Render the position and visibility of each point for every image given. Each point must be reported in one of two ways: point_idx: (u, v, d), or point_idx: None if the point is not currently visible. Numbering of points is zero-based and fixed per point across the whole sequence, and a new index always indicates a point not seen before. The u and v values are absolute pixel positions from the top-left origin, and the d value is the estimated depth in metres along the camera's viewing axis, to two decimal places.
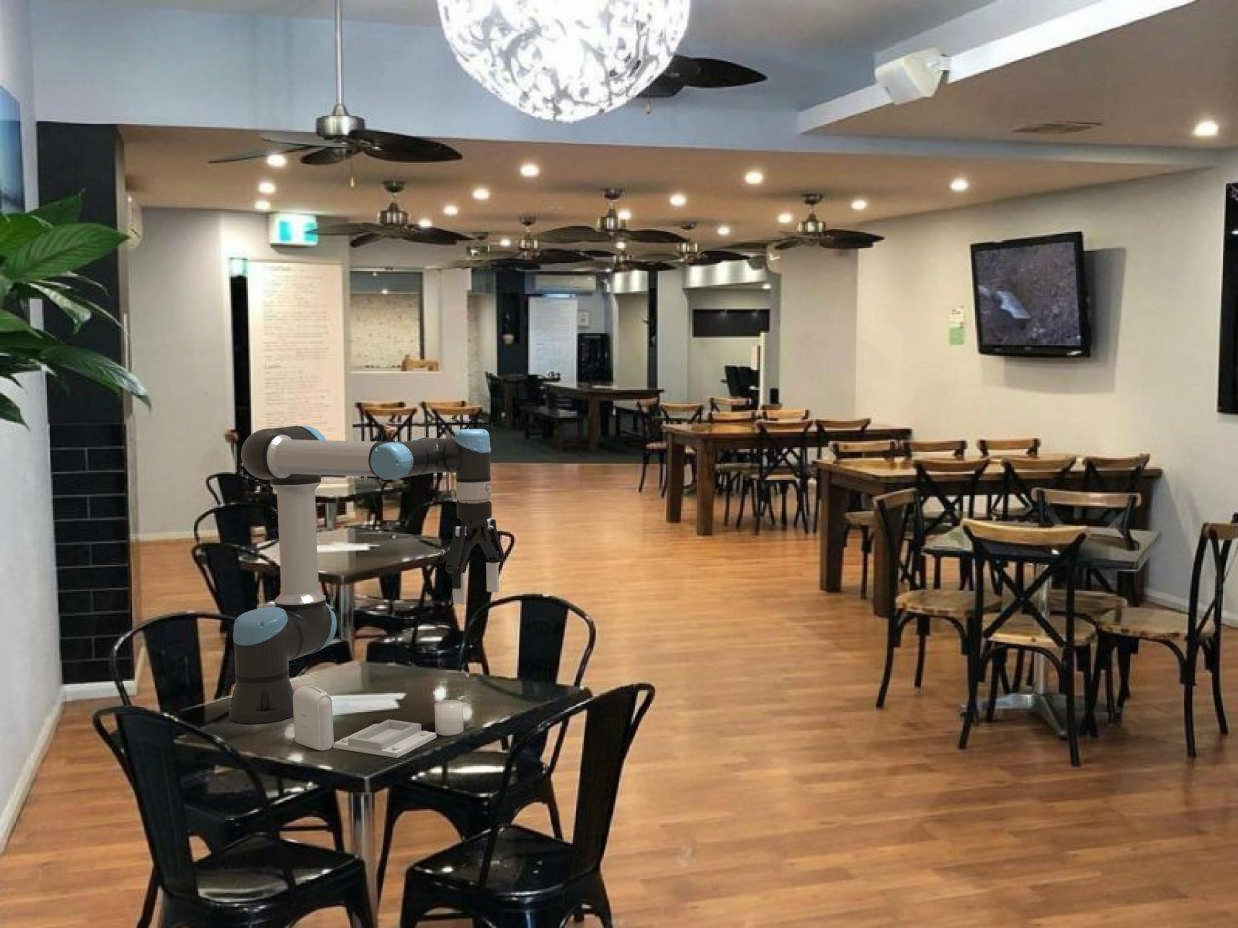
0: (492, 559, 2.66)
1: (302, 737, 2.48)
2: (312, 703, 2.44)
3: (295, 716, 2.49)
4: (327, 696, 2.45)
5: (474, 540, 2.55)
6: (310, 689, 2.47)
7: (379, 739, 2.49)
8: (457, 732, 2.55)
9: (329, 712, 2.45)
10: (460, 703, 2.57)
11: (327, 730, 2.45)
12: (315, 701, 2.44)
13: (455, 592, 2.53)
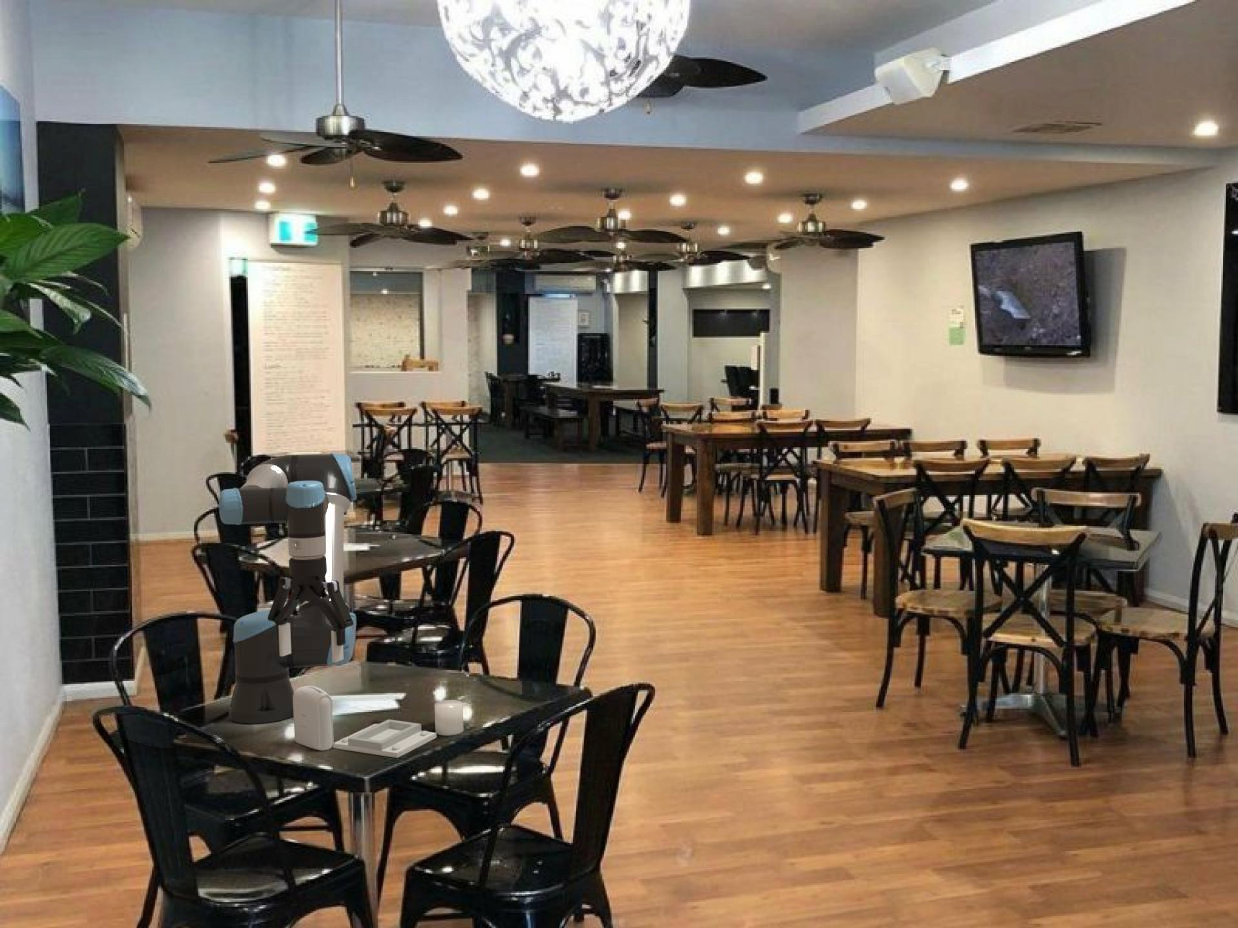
0: None
1: (302, 737, 2.48)
2: (312, 703, 2.44)
3: (295, 716, 2.49)
4: (327, 696, 2.45)
5: (292, 596, 2.46)
6: (310, 689, 2.47)
7: (379, 739, 2.49)
8: (457, 732, 2.55)
9: (329, 712, 2.45)
10: (460, 703, 2.57)
11: (327, 730, 2.45)
12: (315, 701, 2.44)
13: None
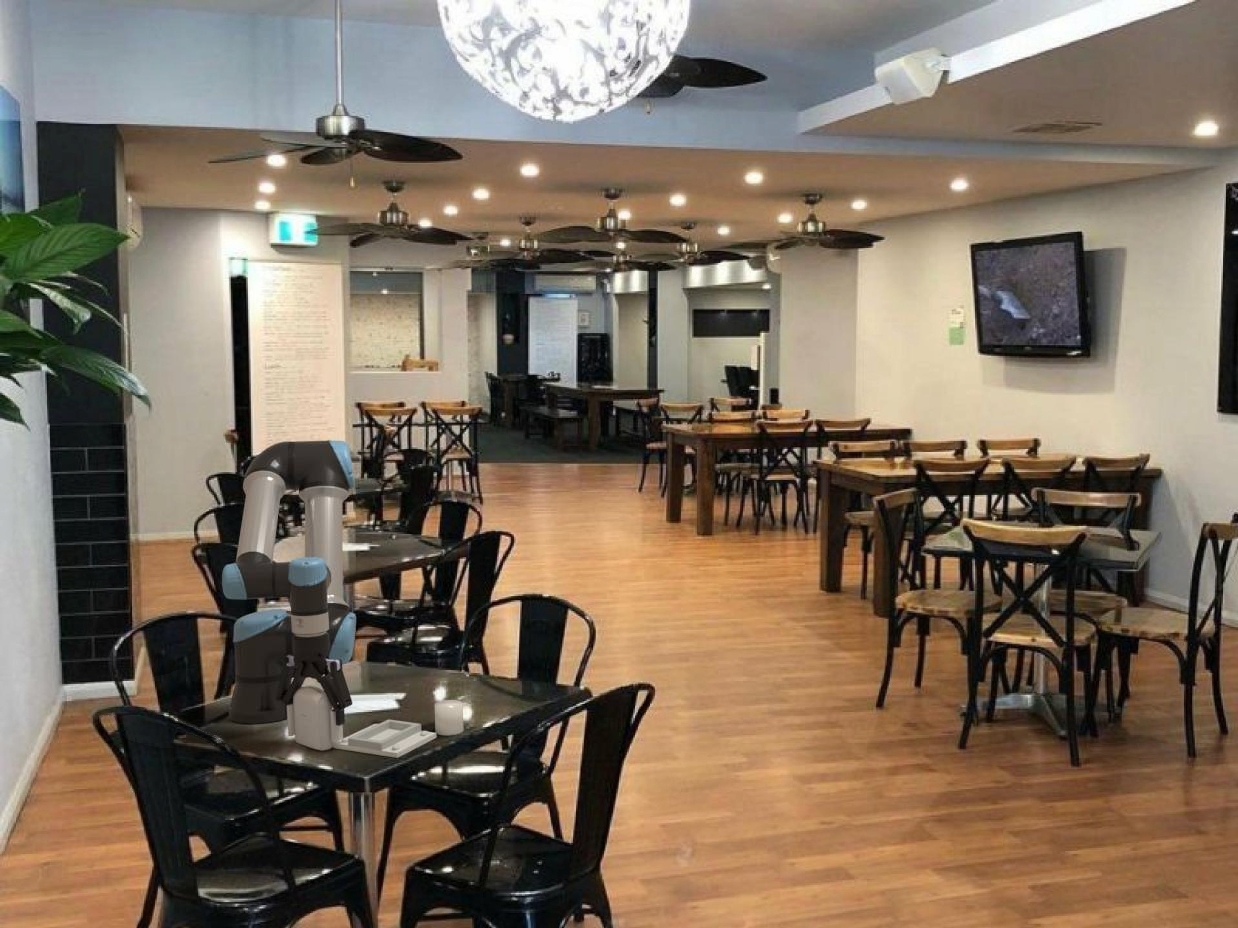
0: None
1: (302, 737, 2.48)
2: (313, 703, 2.44)
3: (295, 716, 2.49)
4: None
5: (296, 673, 2.47)
6: (310, 689, 2.46)
7: (379, 739, 2.49)
8: (457, 732, 2.55)
9: (329, 712, 2.45)
10: (460, 703, 2.57)
11: (328, 730, 2.45)
12: (316, 701, 2.44)
13: None
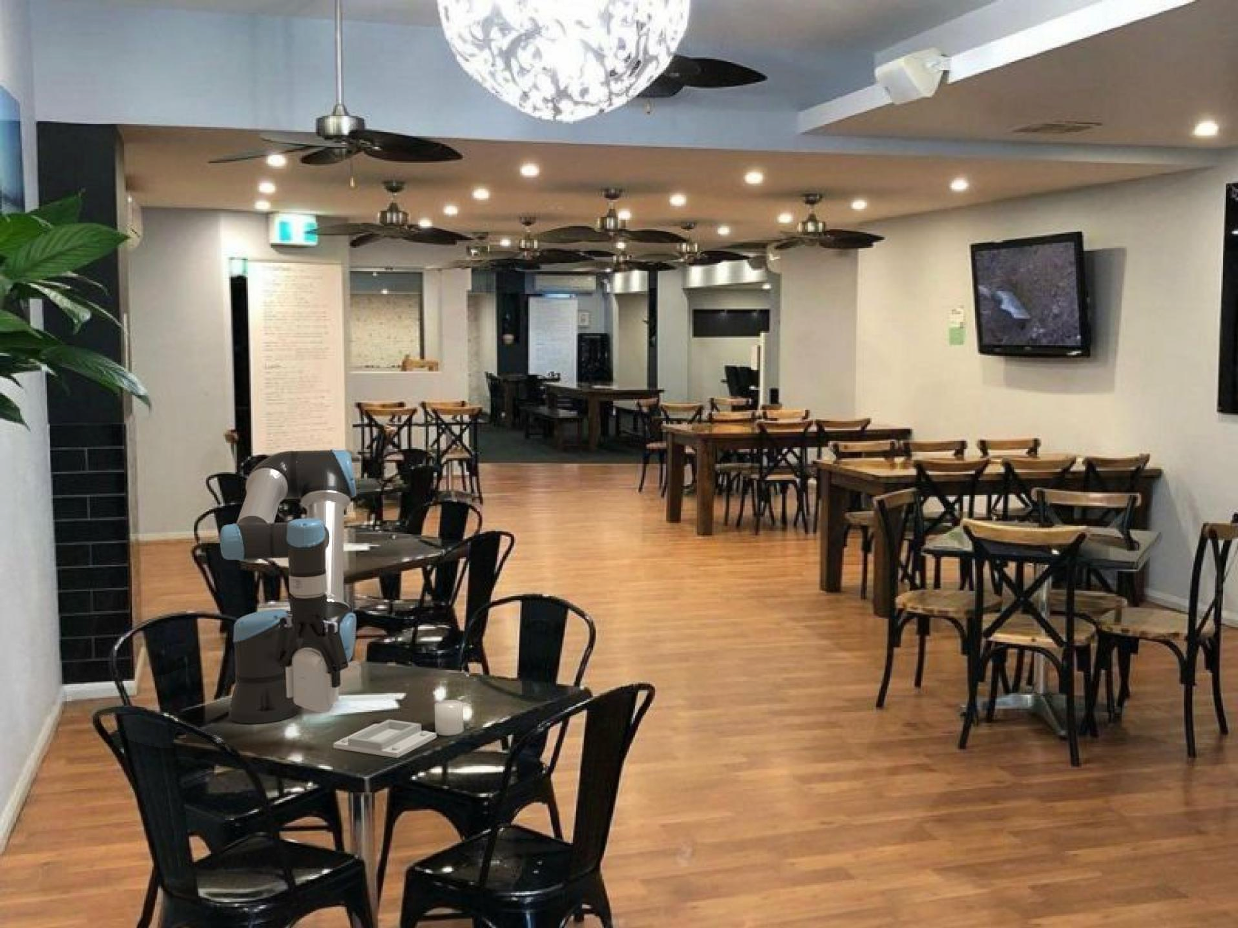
0: None
1: (301, 699, 2.48)
2: (311, 665, 2.44)
3: (294, 678, 2.49)
4: None
5: (294, 634, 2.46)
6: (309, 651, 2.46)
7: (379, 739, 2.49)
8: (457, 732, 2.55)
9: None
10: (460, 703, 2.57)
11: (326, 692, 2.45)
12: (314, 663, 2.44)
13: None
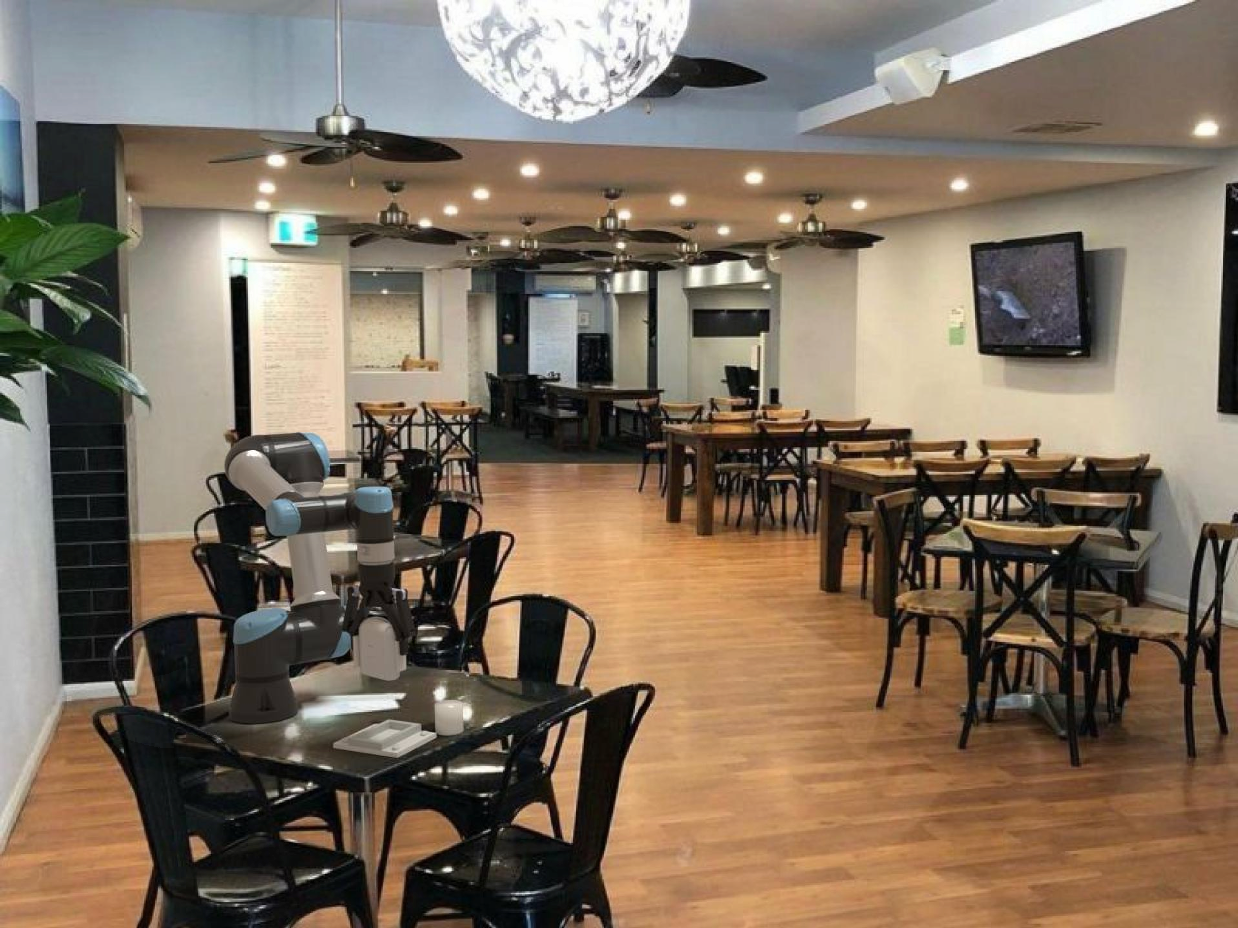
0: None
1: (368, 668, 2.47)
2: (379, 633, 2.43)
3: (361, 647, 2.48)
4: None
5: (362, 603, 2.46)
6: (377, 619, 2.46)
7: (379, 739, 2.49)
8: (457, 732, 2.55)
9: None
10: (460, 703, 2.57)
11: (394, 660, 2.44)
12: (382, 631, 2.43)
13: None
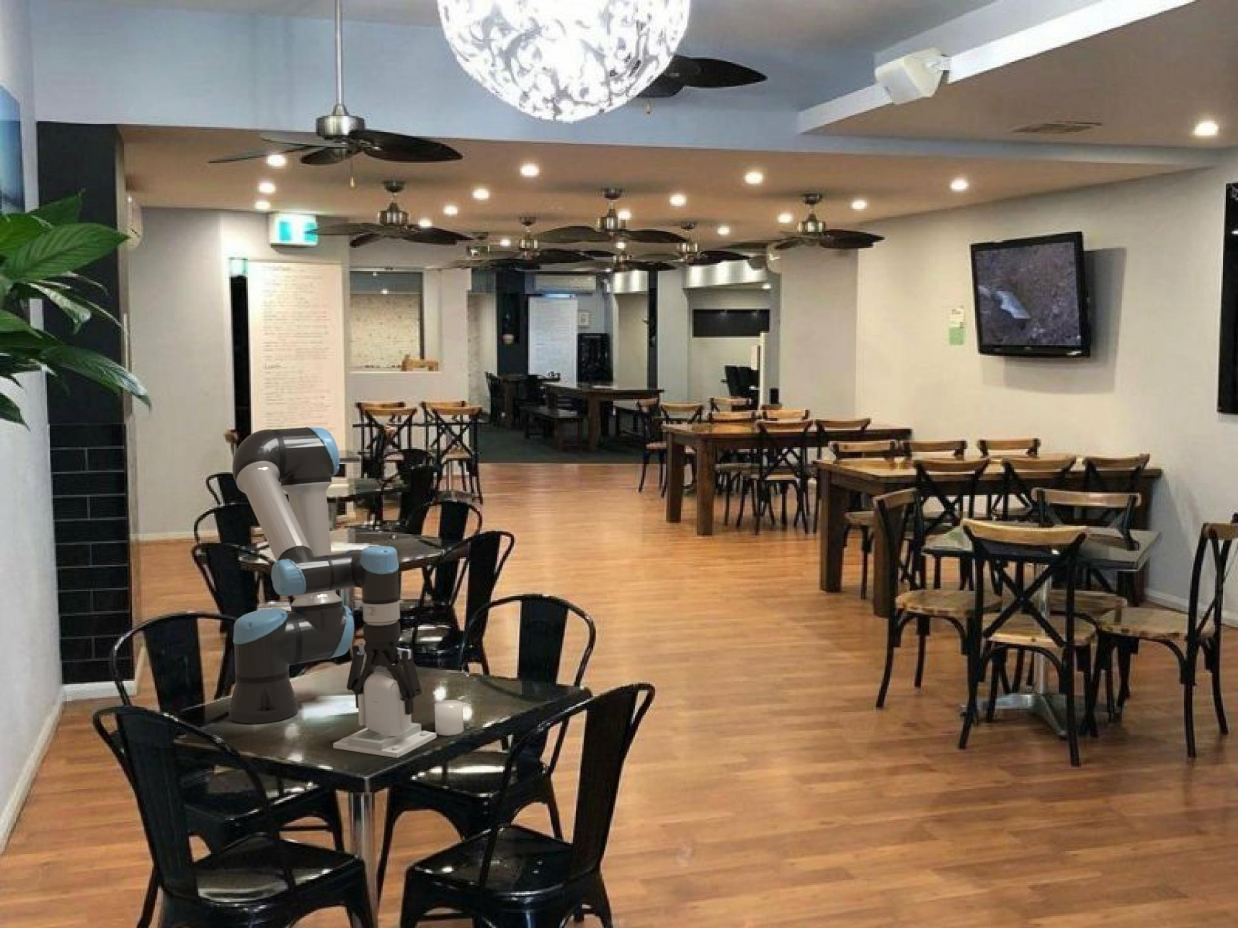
0: None
1: (373, 723, 2.48)
2: (385, 689, 2.45)
3: (366, 702, 2.50)
4: None
5: (367, 662, 2.47)
6: (381, 675, 2.47)
7: (379, 739, 2.49)
8: (457, 732, 2.55)
9: (401, 698, 2.46)
10: (460, 703, 2.57)
11: (399, 716, 2.45)
12: (388, 687, 2.44)
13: None
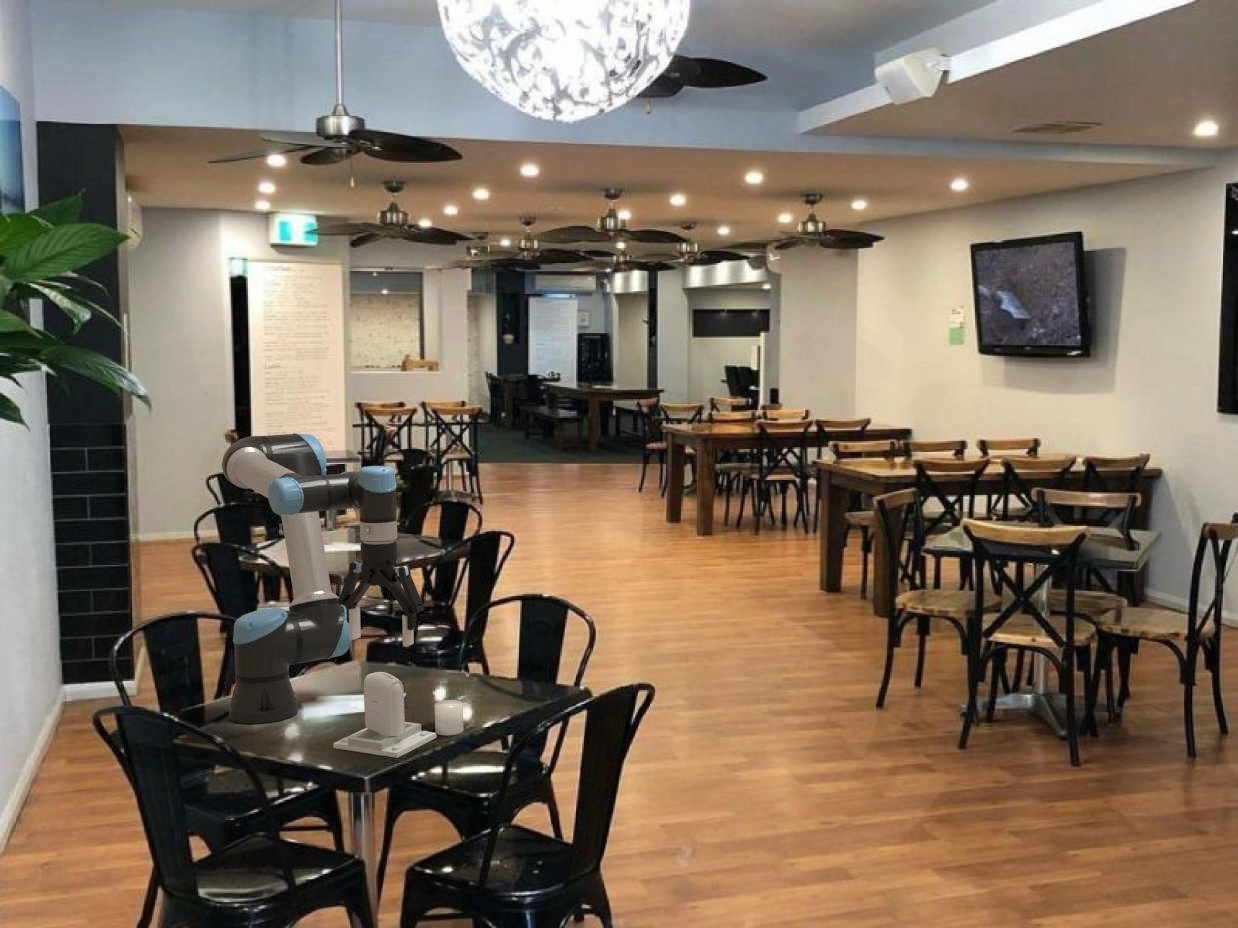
0: None
1: (373, 723, 2.48)
2: (385, 689, 2.45)
3: (366, 702, 2.50)
4: (399, 682, 2.46)
5: (363, 580, 2.47)
6: (381, 675, 2.47)
7: (379, 739, 2.49)
8: (457, 732, 2.55)
9: (401, 698, 2.46)
10: (460, 703, 2.57)
11: (399, 716, 2.45)
12: (388, 687, 2.44)
13: None
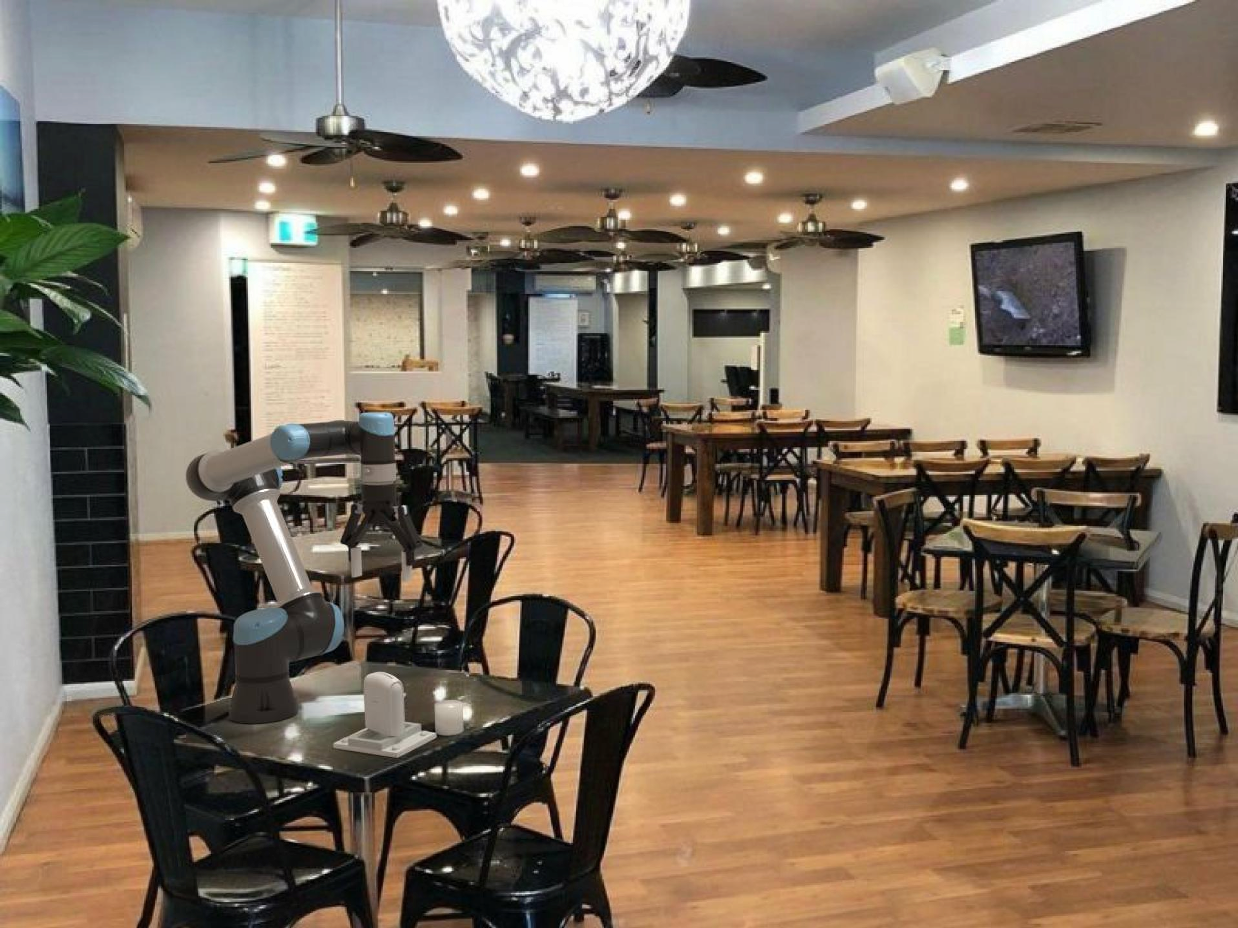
0: None
1: (373, 723, 2.48)
2: (385, 689, 2.45)
3: (366, 702, 2.50)
4: (399, 682, 2.46)
5: (364, 520, 2.62)
6: (381, 675, 2.47)
7: (379, 739, 2.49)
8: (457, 732, 2.55)
9: (401, 698, 2.46)
10: (460, 703, 2.57)
11: (399, 716, 2.45)
12: (388, 687, 2.44)
13: None
